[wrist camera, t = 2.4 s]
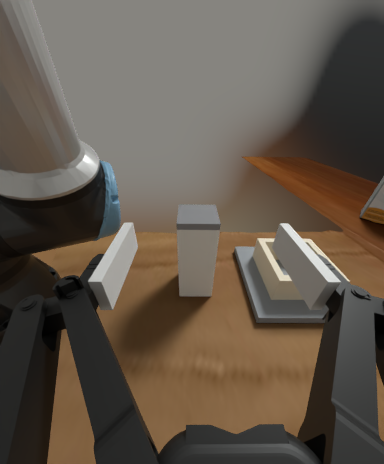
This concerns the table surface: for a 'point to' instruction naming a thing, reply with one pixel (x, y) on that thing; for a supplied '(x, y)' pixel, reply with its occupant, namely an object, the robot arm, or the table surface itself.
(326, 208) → the table surface
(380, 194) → the hard drive box
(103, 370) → the robot arm
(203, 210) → the white grey-topped block
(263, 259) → the holder
